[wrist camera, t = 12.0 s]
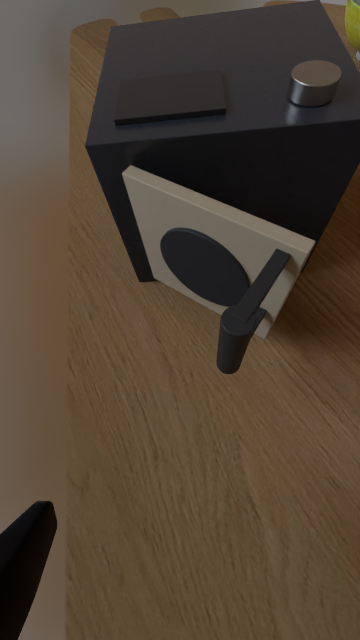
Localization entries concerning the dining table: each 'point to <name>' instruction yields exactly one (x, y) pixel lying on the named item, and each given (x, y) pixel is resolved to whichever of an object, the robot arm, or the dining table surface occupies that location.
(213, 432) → the dining table surface
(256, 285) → the washer door
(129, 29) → the washer
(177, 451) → the dining table surface
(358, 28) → the bowl
